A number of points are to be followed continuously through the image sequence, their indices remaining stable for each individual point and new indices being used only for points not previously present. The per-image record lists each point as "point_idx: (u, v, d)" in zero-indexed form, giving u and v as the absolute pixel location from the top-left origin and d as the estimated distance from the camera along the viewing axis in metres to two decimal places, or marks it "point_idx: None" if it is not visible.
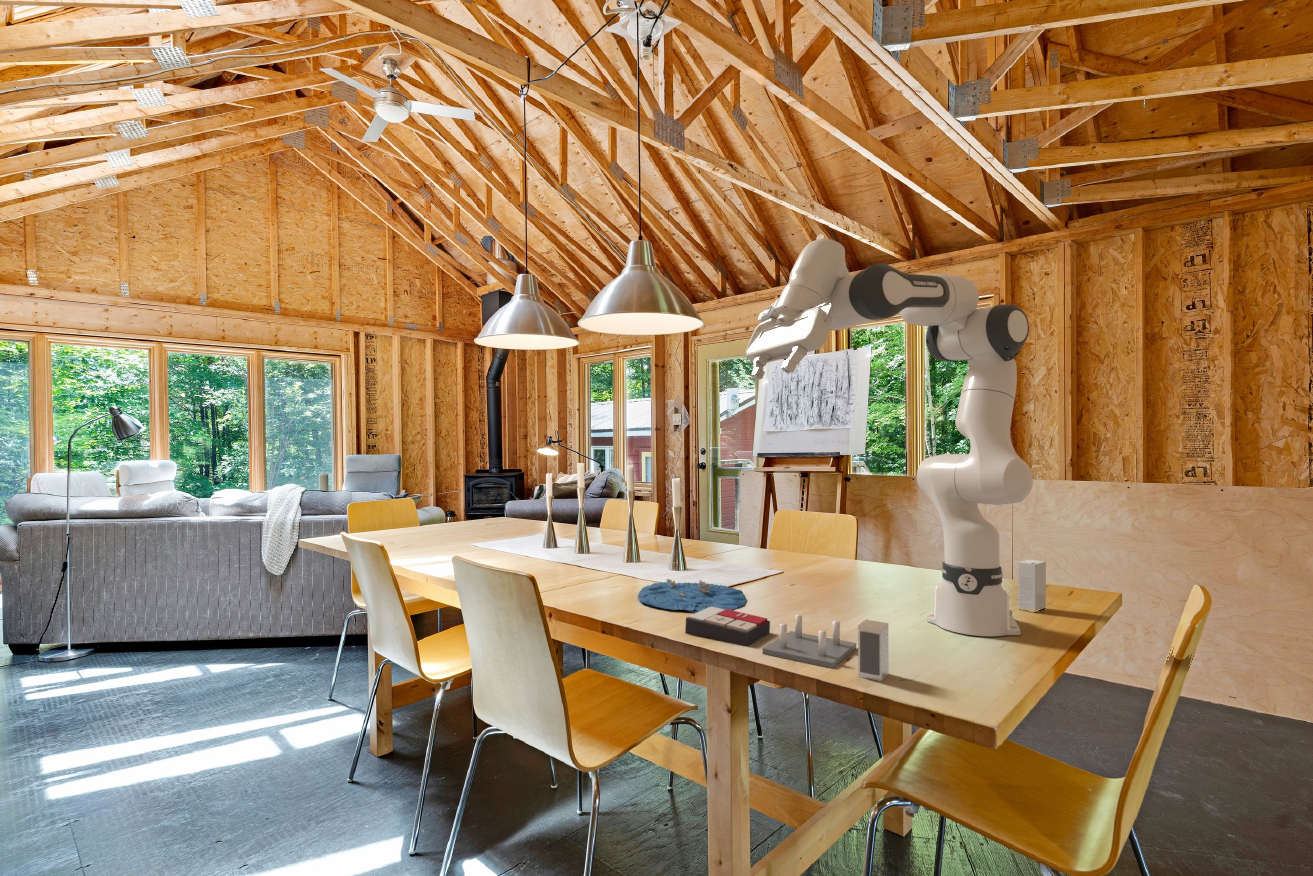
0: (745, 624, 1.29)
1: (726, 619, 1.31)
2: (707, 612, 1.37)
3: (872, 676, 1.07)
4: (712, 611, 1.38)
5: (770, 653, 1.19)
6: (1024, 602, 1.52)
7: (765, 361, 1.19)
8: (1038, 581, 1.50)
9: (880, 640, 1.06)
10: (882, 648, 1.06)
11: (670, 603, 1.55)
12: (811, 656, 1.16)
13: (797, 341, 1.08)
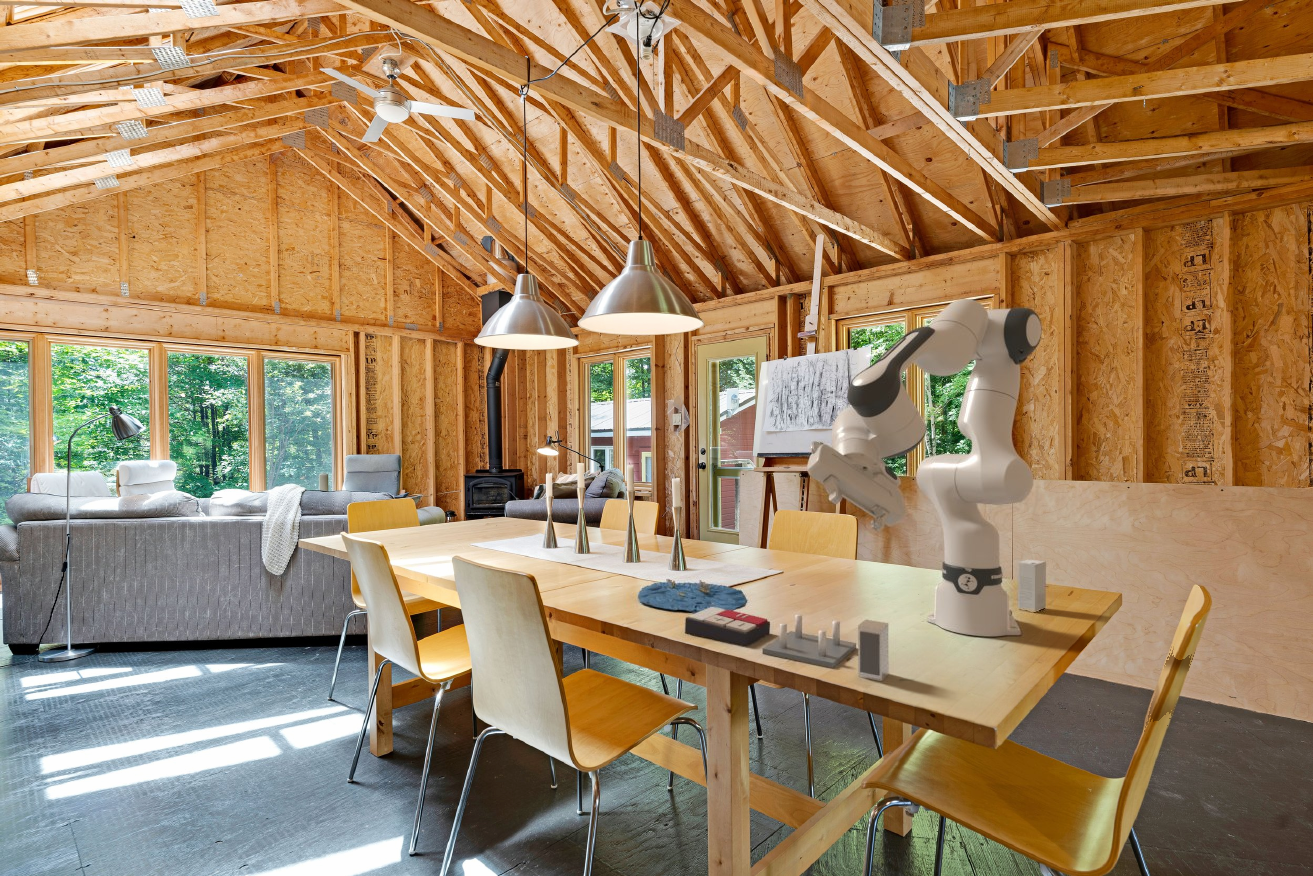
0: (744, 624, 1.28)
1: (726, 620, 1.31)
2: (707, 612, 1.36)
3: (872, 676, 1.07)
4: (712, 611, 1.37)
5: (770, 653, 1.19)
6: (1024, 602, 1.52)
7: (880, 510, 1.11)
8: (1038, 581, 1.50)
9: (880, 640, 1.06)
10: (882, 648, 1.06)
11: (670, 603, 1.55)
12: (811, 656, 1.16)
13: (820, 482, 1.12)
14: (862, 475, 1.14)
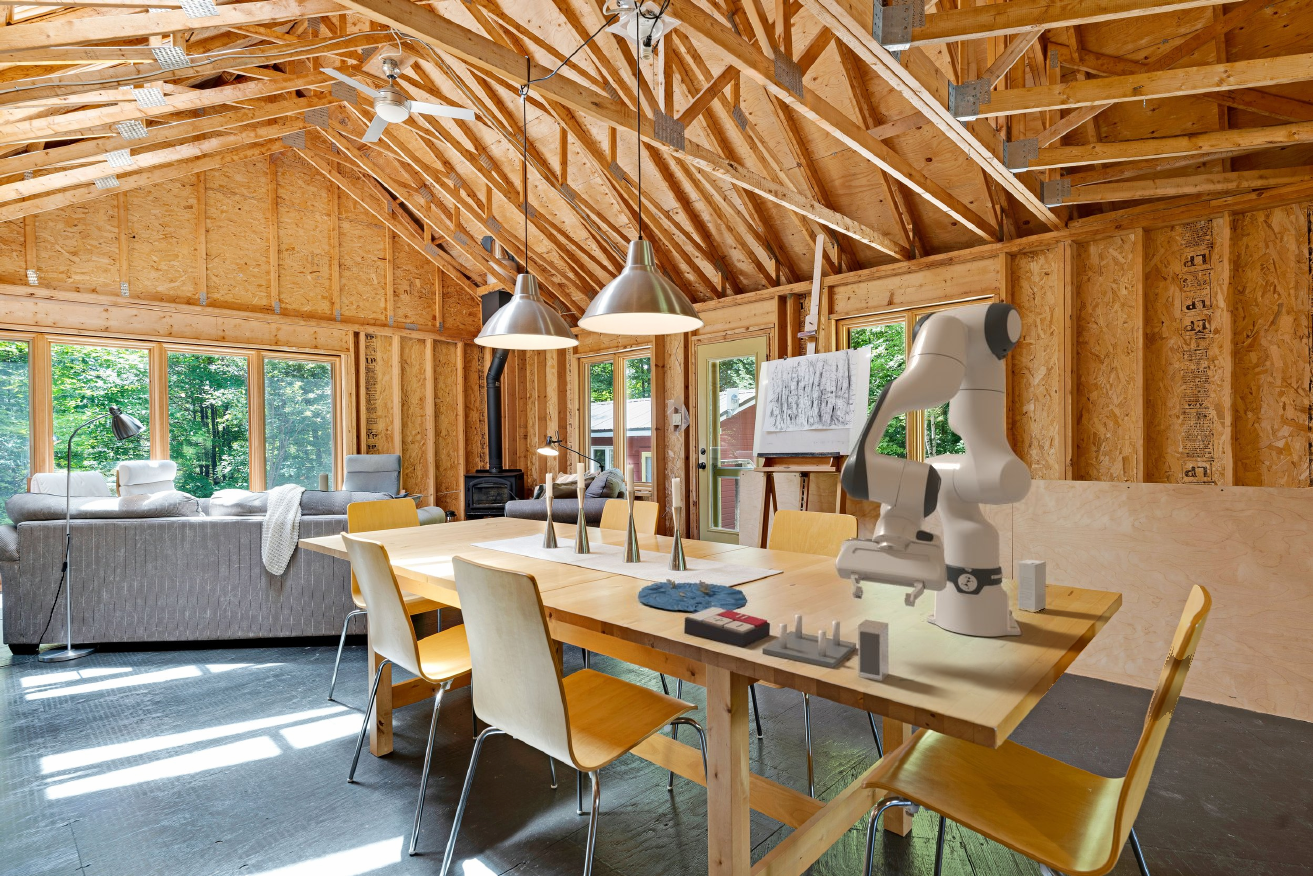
0: (742, 625, 1.28)
1: (725, 620, 1.31)
2: (707, 612, 1.36)
3: (872, 676, 1.07)
4: (713, 612, 1.37)
5: (770, 653, 1.19)
6: (1024, 602, 1.52)
7: None
8: (1038, 581, 1.50)
9: (880, 640, 1.06)
10: (882, 648, 1.06)
11: (670, 603, 1.55)
12: (811, 656, 1.16)
13: None
14: (892, 554, 1.19)
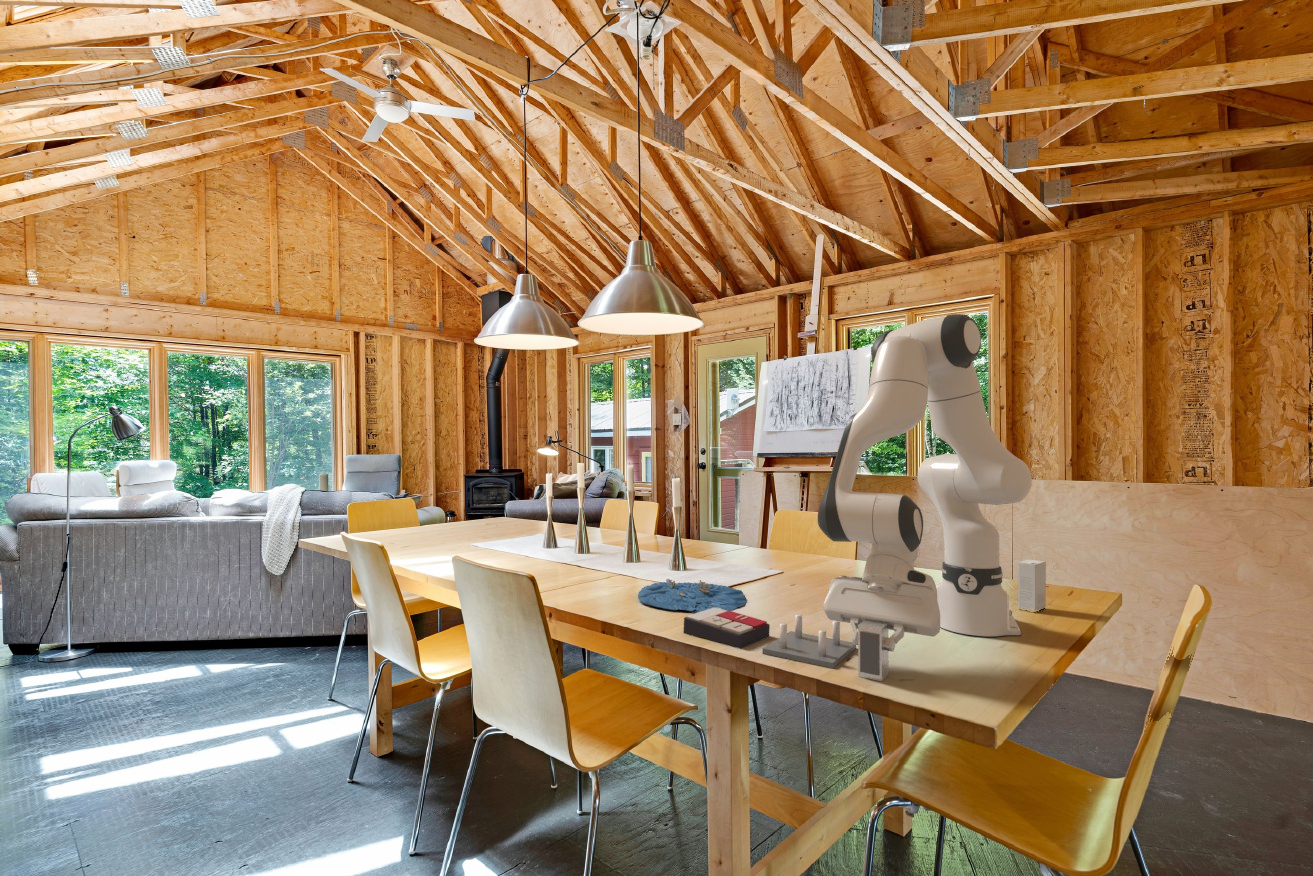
0: (740, 626, 1.27)
1: (723, 621, 1.30)
2: (707, 613, 1.36)
3: (872, 676, 1.07)
4: (713, 612, 1.37)
5: (770, 653, 1.19)
6: (1024, 602, 1.52)
7: None
8: (1038, 581, 1.50)
9: (880, 640, 1.06)
10: (882, 648, 1.06)
11: (670, 603, 1.55)
12: (811, 656, 1.16)
13: (843, 621, 1.16)
14: (882, 595, 1.13)
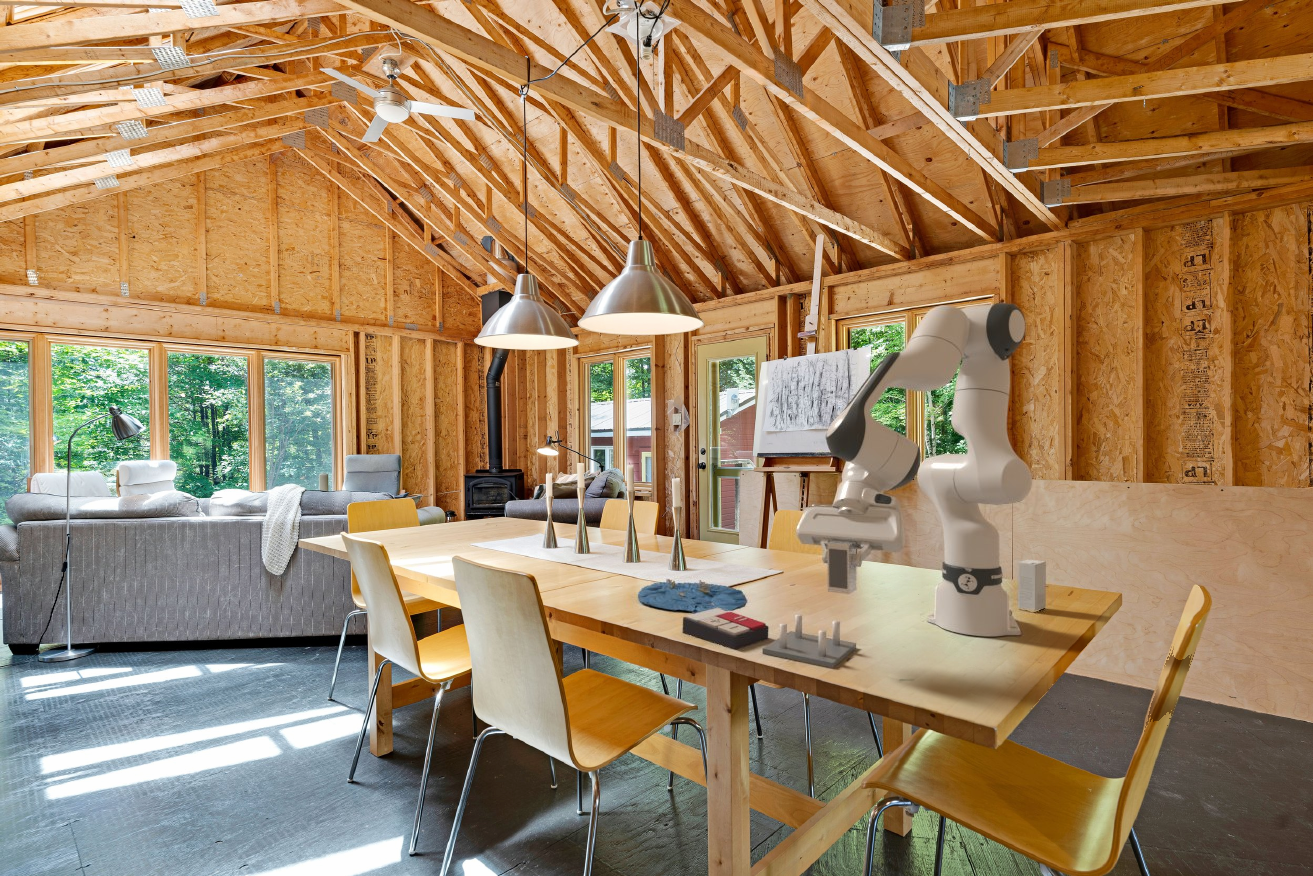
0: (737, 627, 1.26)
1: (721, 621, 1.30)
2: (707, 613, 1.36)
3: (840, 590, 1.13)
4: (713, 612, 1.36)
5: (770, 653, 1.19)
6: (1024, 602, 1.52)
7: None
8: (1038, 581, 1.50)
9: (847, 555, 1.12)
10: (849, 563, 1.13)
11: (670, 603, 1.55)
12: (811, 656, 1.16)
13: (814, 544, 1.22)
14: (851, 517, 1.19)
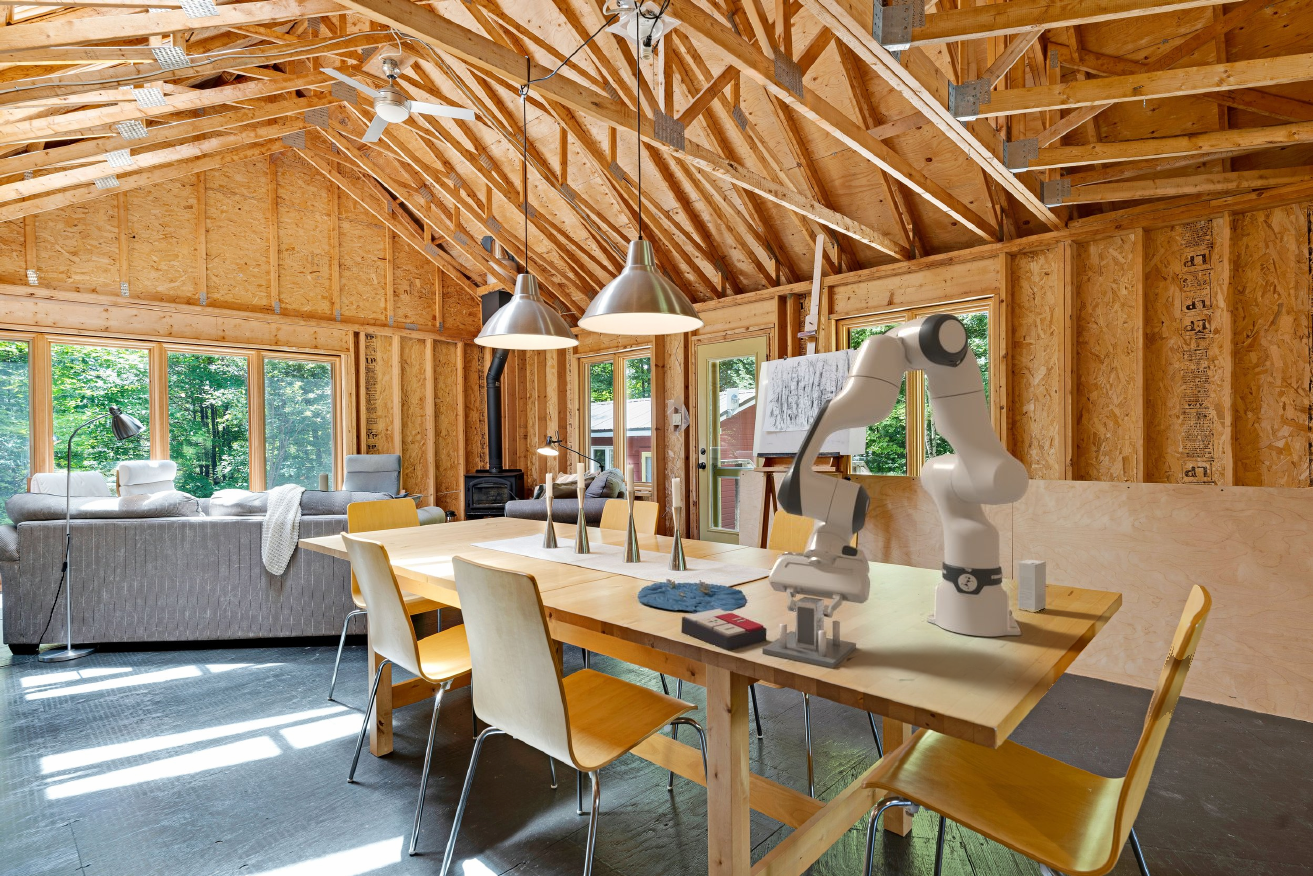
0: (732, 628, 1.25)
1: (718, 622, 1.29)
2: (707, 614, 1.35)
3: (808, 646, 1.20)
4: (714, 613, 1.36)
5: (770, 653, 1.19)
6: (1024, 602, 1.52)
7: None
8: (1038, 581, 1.50)
9: (814, 614, 1.19)
10: (816, 621, 1.19)
11: (670, 603, 1.55)
12: (811, 656, 1.16)
13: (786, 592, 1.29)
14: (820, 568, 1.26)
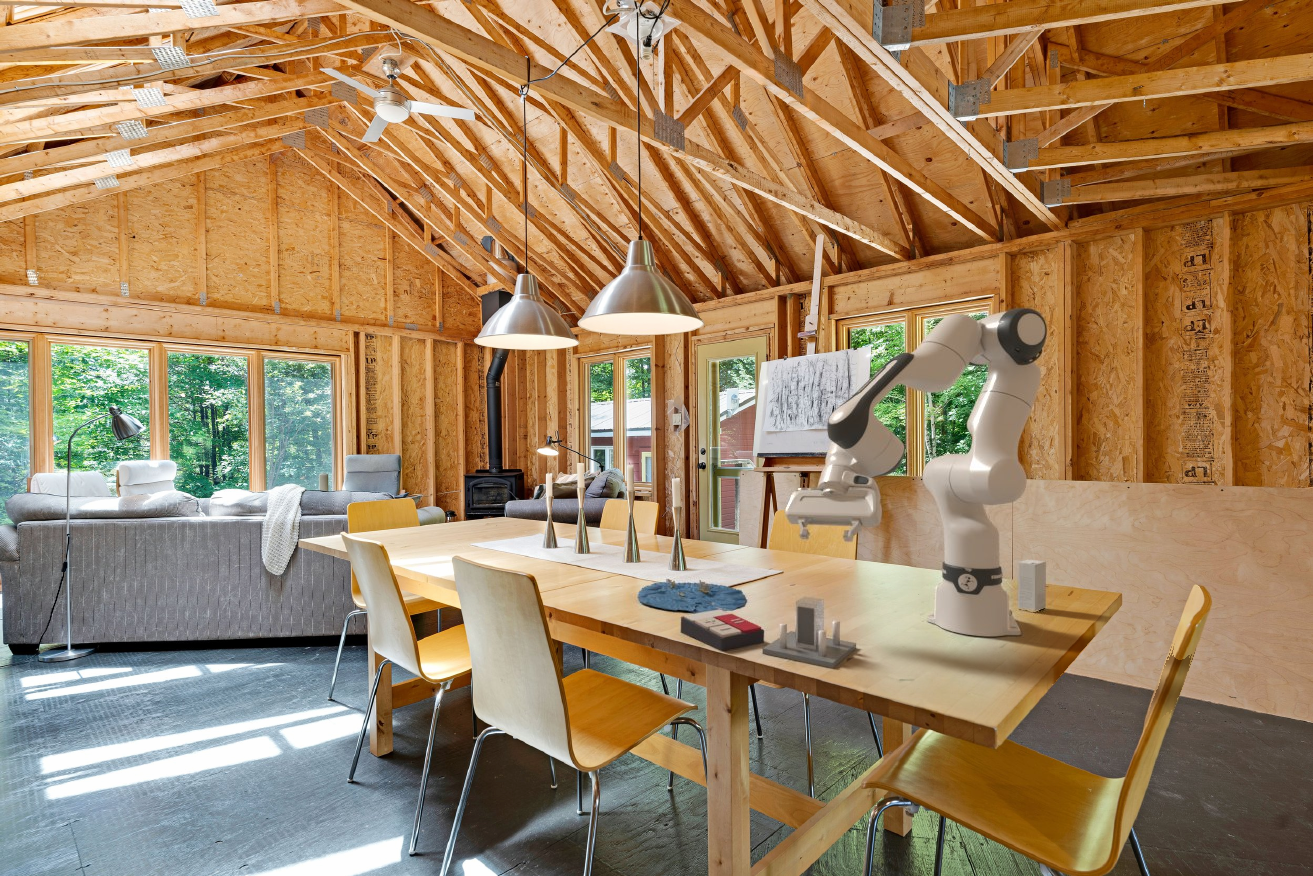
0: (728, 629, 1.25)
1: (716, 623, 1.29)
2: (707, 614, 1.35)
3: (808, 646, 1.20)
4: (714, 614, 1.35)
5: (770, 653, 1.19)
6: (1024, 602, 1.52)
7: None
8: (1038, 581, 1.50)
9: (814, 614, 1.19)
10: (816, 621, 1.19)
11: (670, 603, 1.55)
12: (811, 656, 1.16)
13: None
14: (834, 498, 1.33)
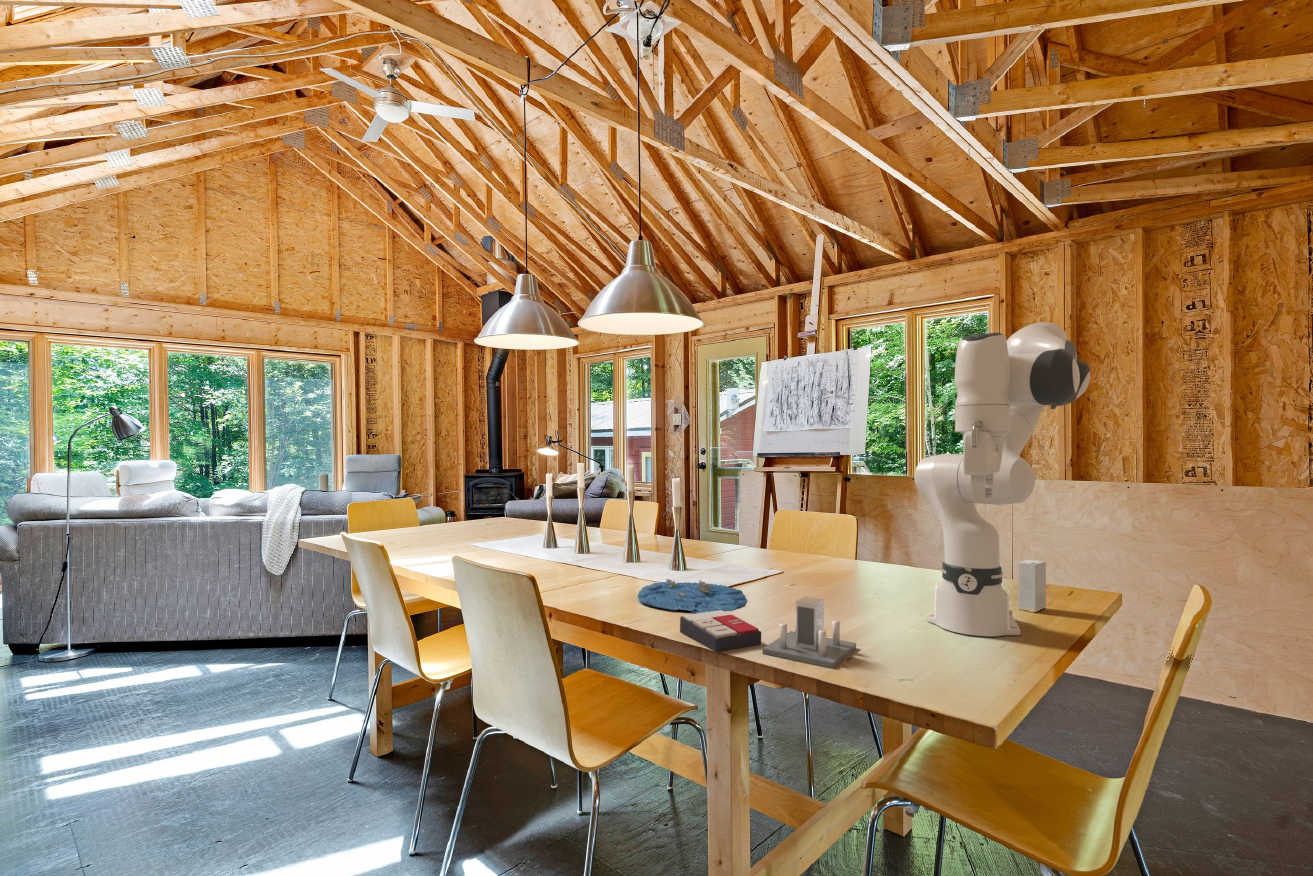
0: (724, 630, 1.24)
1: (713, 623, 1.28)
2: (707, 614, 1.35)
3: (808, 646, 1.20)
4: (714, 614, 1.35)
5: (770, 653, 1.19)
6: (1024, 602, 1.52)
7: (990, 474, 1.14)
8: (1038, 581, 1.50)
9: (814, 614, 1.19)
10: (816, 621, 1.19)
11: (670, 603, 1.55)
12: (811, 656, 1.16)
13: None
14: (992, 445, 1.10)
